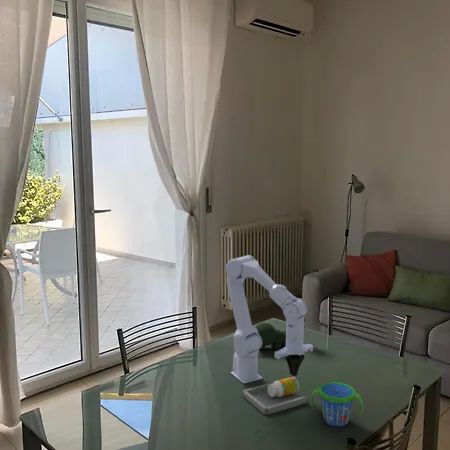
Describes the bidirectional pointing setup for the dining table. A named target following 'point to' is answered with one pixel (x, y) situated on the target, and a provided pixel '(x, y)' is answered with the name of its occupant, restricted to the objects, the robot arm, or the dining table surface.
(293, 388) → the supplement bottle
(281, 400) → the tray
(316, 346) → the dining table surface
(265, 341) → the toy figurine
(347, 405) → the snack cup
